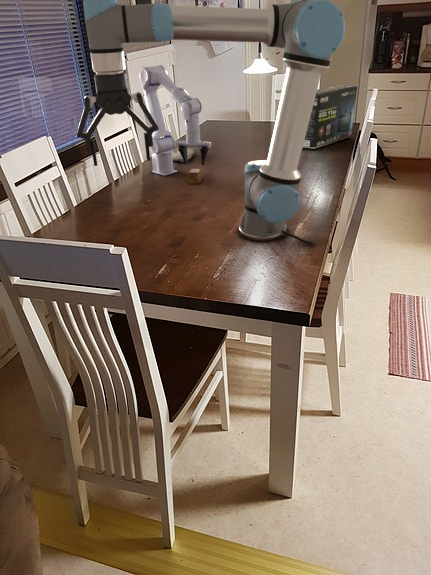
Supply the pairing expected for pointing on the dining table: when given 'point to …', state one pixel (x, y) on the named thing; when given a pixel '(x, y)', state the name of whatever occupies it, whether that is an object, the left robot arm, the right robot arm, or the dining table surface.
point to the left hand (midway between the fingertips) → (194, 164)
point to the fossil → (177, 155)
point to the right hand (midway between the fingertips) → (122, 162)
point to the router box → (331, 115)
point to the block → (195, 176)
